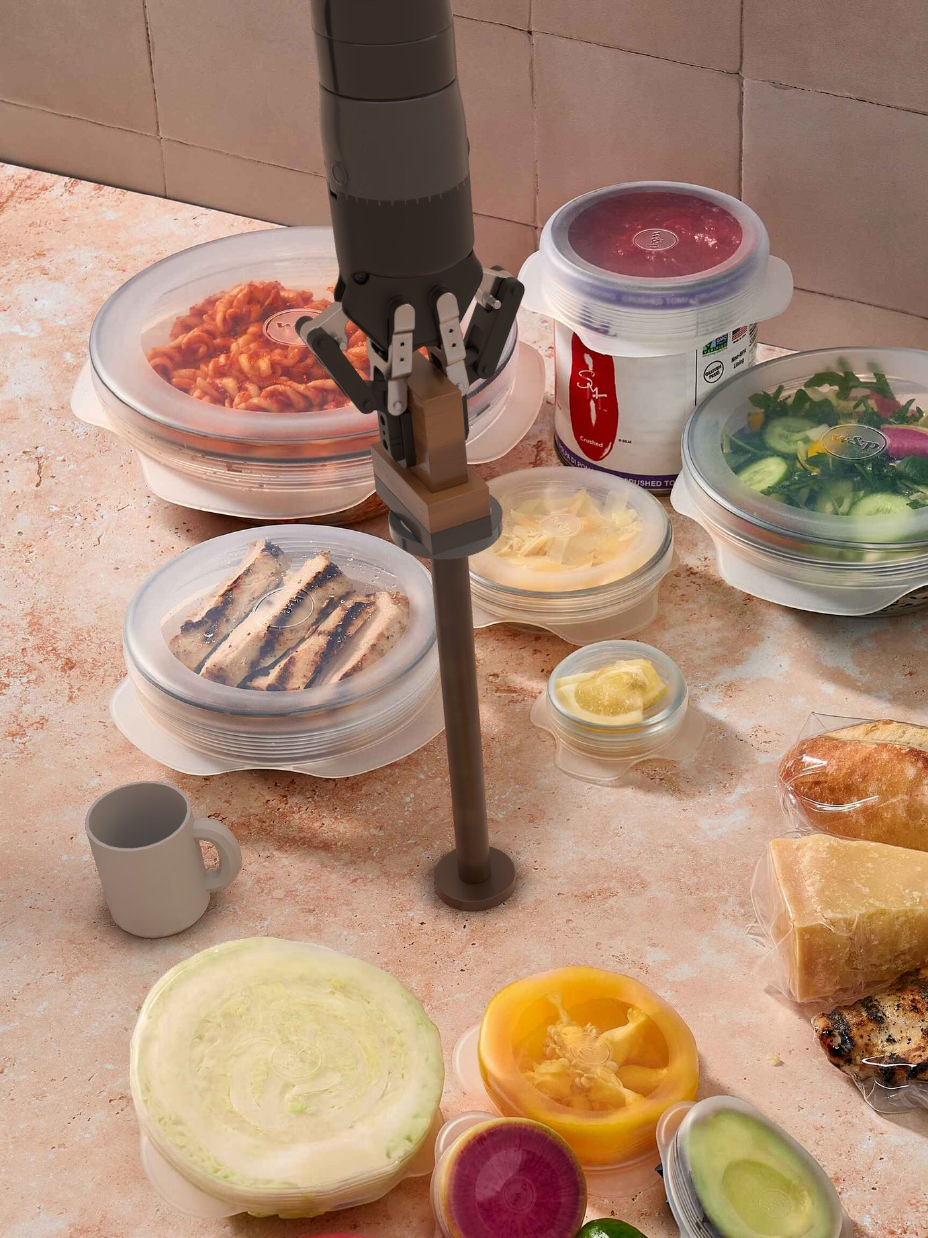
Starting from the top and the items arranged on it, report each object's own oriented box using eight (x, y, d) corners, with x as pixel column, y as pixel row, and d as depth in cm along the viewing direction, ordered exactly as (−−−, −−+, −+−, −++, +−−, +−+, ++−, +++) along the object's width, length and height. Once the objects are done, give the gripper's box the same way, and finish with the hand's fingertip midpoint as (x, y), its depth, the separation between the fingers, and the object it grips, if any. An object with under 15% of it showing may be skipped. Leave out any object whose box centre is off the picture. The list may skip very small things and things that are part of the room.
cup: (116, 874, 124) (90, 784, 118) (252, 863, 125) (234, 773, 119) (105, 945, 119) (78, 855, 113) (248, 933, 120) (229, 843, 114)
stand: (457, 922, 121) (423, 565, 100) (421, 872, 125) (381, 518, 104) (530, 892, 123) (512, 537, 102) (492, 843, 127) (468, 491, 106)
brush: (492, 536, 100) (482, 394, 94) (432, 556, 99) (418, 412, 92) (433, 475, 105) (420, 336, 99) (375, 493, 104) (358, 353, 97)
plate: (419, 572, 99) (418, 556, 99) (371, 516, 104) (369, 501, 103) (523, 539, 102) (522, 523, 101) (471, 486, 106) (470, 471, 106)
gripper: (482, 115, 92) (500, 397, 104) (245, 168, 87) (292, 458, 99) (548, 161, 88) (559, 450, 99) (301, 220, 82) (344, 518, 94)
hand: (426, 453), depth 99 cm, fingers closed on brush, 2 cm apart
